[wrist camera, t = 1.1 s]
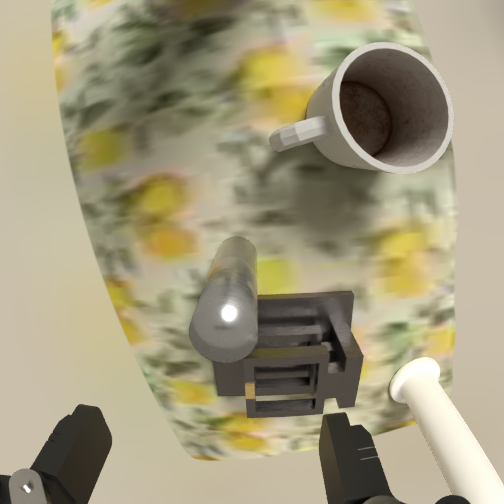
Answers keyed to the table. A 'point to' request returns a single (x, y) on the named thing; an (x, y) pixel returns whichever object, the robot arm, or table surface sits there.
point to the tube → (228, 304)
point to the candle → (446, 433)
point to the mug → (377, 112)
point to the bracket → (297, 356)
